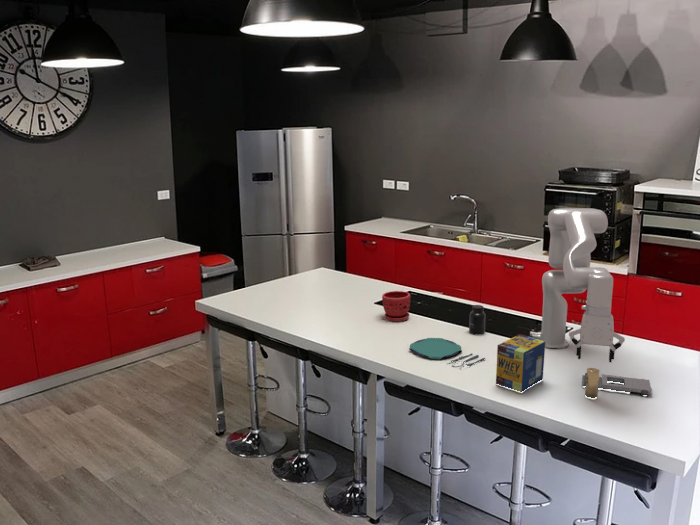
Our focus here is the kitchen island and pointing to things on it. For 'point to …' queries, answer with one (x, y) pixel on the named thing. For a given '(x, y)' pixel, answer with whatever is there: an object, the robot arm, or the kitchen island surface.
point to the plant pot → (396, 305)
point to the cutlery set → (438, 349)
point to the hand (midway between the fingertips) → (594, 359)
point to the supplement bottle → (477, 320)
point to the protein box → (520, 362)
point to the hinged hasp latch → (629, 385)
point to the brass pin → (592, 382)
